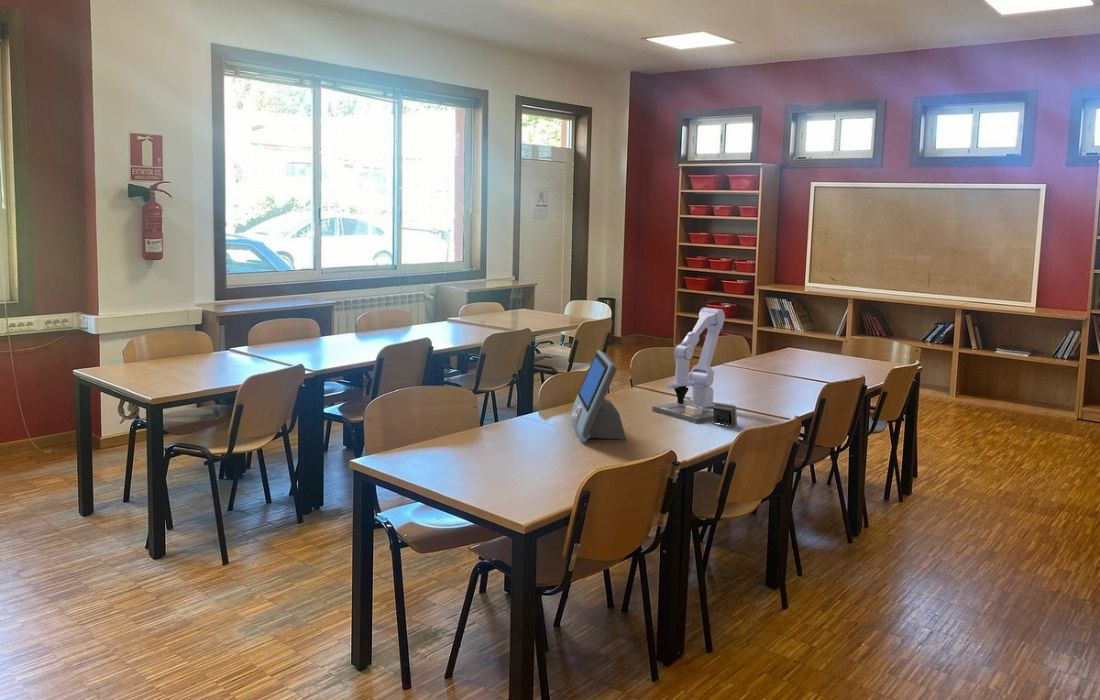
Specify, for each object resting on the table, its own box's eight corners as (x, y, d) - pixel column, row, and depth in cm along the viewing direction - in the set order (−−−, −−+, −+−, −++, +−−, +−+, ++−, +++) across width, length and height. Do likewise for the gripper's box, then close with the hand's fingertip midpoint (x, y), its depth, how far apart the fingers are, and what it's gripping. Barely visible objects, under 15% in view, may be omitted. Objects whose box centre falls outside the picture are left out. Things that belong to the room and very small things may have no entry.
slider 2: (693, 411, 364) (693, 403, 363) (702, 414, 360) (702, 405, 359) (684, 413, 361) (685, 404, 360) (693, 415, 357) (694, 407, 356)
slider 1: (685, 403, 379) (685, 395, 378) (693, 405, 375) (693, 397, 374) (677, 405, 376) (677, 396, 375) (685, 407, 372) (685, 399, 371)
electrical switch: (737, 425, 351) (737, 404, 349) (732, 429, 347) (733, 407, 344) (715, 422, 356) (716, 400, 354) (710, 426, 352) (711, 404, 349)
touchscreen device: (566, 420, 352) (571, 347, 347) (614, 422, 354) (619, 350, 349) (576, 443, 318) (582, 363, 313) (628, 445, 319) (635, 365, 315)
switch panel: (681, 406, 384) (682, 401, 383) (726, 418, 363) (726, 413, 363) (652, 410, 373) (652, 406, 373) (696, 423, 352) (696, 418, 352)
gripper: (676, 375, 364) (675, 407, 366) (700, 372, 372) (698, 403, 375) (665, 373, 369) (663, 404, 371) (688, 370, 378) (687, 400, 380)
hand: (680, 403), depth 373 cm, fingers closed
